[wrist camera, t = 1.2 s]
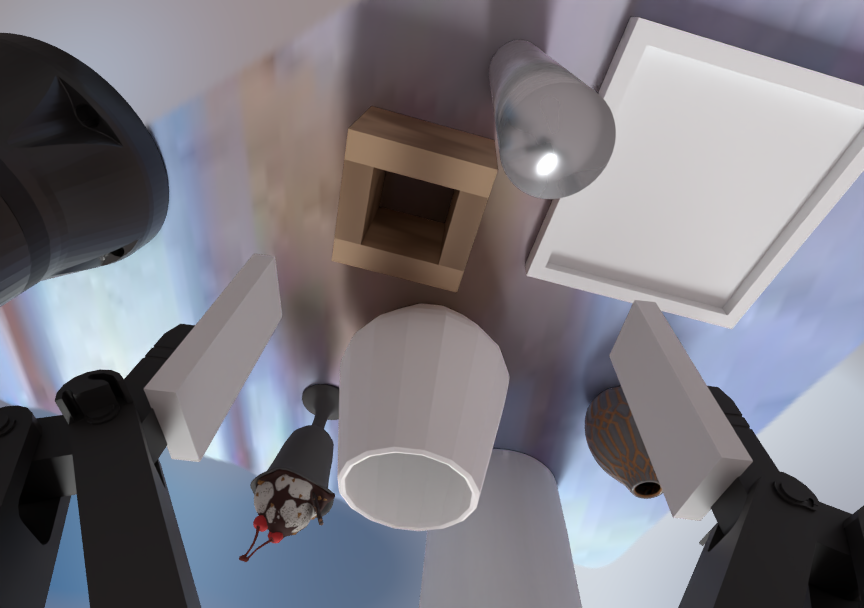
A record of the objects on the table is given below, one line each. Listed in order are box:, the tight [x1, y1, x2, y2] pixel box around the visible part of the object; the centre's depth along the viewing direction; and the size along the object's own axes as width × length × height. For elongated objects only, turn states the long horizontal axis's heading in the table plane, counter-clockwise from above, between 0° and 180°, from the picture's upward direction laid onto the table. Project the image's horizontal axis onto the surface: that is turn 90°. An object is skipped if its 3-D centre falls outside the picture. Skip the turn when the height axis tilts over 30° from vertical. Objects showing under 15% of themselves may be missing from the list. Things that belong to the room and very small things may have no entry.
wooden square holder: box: [332, 106, 498, 293], centre depth 27 cm, size 8×8×6 cm
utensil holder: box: [419, 449, 582, 608], centre depth 41 cm, size 15×15×18 cm
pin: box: [489, 40, 616, 199], centre depth 19 cm, size 3×3×16 cm
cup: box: [338, 303, 510, 531], centre depth 32 cm, size 13×13×14 cm
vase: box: [585, 387, 663, 499], centre depth 36 cm, size 7×7×9 cm
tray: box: [525, 17, 864, 329], centre depth 28 cm, size 16×16×2 cm
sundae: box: [239, 384, 339, 562], centre depth 37 cm, size 7×7×15 cm
